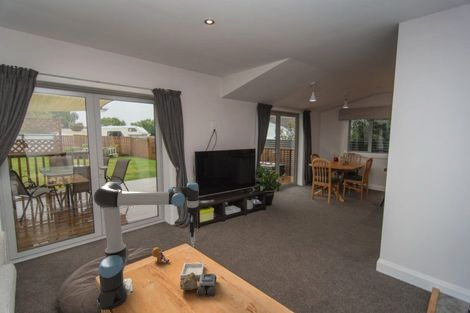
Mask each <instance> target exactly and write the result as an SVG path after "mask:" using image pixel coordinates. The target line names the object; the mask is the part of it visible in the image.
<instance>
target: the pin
mask: <svg viewBox="0 0 470 313" xmlns="http://www.w3.org/2000/svg"><path fill="white" fill-rule="evenodd" d="M196 231H197V227H195V228H194V232H195V233H196ZM190 247H191V248H193V247H194V248H195V247H196V240H195V241H190Z"/></svg>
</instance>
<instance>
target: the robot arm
mask: <svg viewBox="0 0 470 313" xmlns="http://www.w3.org/2000/svg"><path fill="white" fill-rule="evenodd" d="M167 190H168V191H123V188H122V186H121V184H119V183H118V182H114V181H109V182H106V183H103V184H102V185H101V187H99V188H98V189H96V190H95V192H94V194H93V201H94V203H95V204H96V205H97V206H99V208H100V209H102V211H103V221H104V228H105V229H104V230H105V237H106V245H107V247H106V248H105V249H104V254H105V258H103V259H102V260H101V261H100V263H99V268H98V275H99V276H98V279H99V293H98V295H97V299H96V307H97V308H98V309H100V310H103V311H106V310H107V311H109V310H112V308H113V309H115V308H114V307H116V308H117V306H118V307H119V306H120V305H123V304H124V302H125V301H126V300H127V299H128V290H127V287H126V286H125V284H124V283H125V282H124V271H125V268H126V265H127V261H128V259H129V250H128V248H127V245H126V243H124V239H123V230H122V229H123V228H122V219H121V212H120V211H121V210H120V209H121V208H120V207H123V206H163V205H164V206H168V205H170V206H174V207H181V206H183V205H184V204H185V202H186V212H187V213H188V214H189V234H190V238H189V239H190V242H191V241H195V242H196V231H195V232H194V228H197V227H196V226H197V225H196V224H197V223H196V222H197V220H196V219H197V213H198V212H199V204H200V201H199V197H200V196H199V192H200V190H199V184H198V183H197V182H188V183H187V184H186V186H172V187H170V186H169V187H168V188H167ZM185 200H186V201H185Z"/></svg>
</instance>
